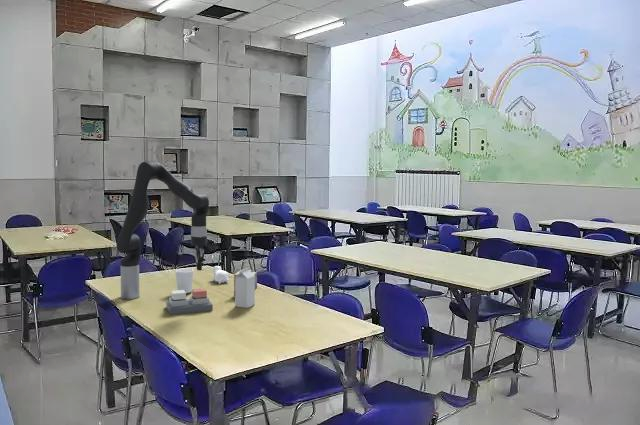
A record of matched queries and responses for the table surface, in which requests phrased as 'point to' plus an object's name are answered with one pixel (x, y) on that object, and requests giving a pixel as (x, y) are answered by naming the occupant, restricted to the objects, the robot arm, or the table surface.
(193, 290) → the red key
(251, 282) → the milk carton
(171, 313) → the key base
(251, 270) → the gray gift bag
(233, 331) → the table surface
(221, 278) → the white animal figurine
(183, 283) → the cup
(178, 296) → the ivory key
